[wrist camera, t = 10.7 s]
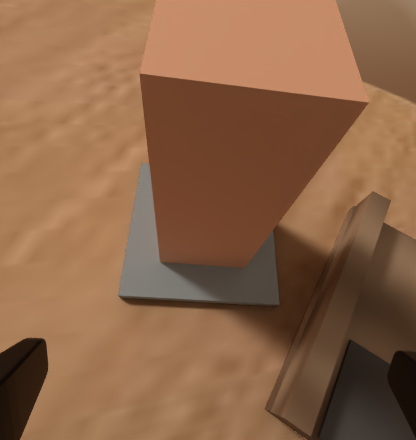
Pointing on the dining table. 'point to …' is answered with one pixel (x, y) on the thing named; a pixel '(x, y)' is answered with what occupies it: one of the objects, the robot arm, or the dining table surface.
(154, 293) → the slate mat
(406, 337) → the walnut channel
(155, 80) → the terracotta block
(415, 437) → the robot arm
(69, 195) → the dining table surface
